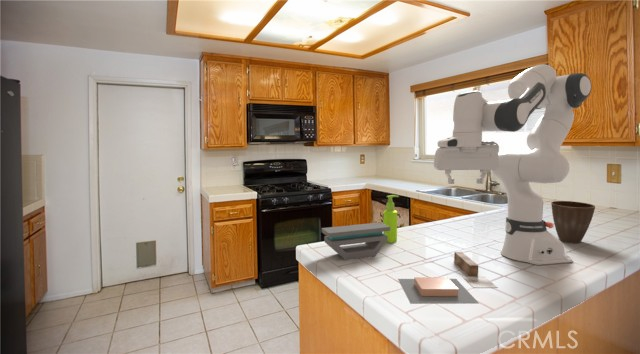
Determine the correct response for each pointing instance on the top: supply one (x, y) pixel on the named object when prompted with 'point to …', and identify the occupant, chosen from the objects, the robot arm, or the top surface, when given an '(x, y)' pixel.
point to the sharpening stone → (356, 239)
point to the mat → (416, 297)
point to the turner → (471, 271)
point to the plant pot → (572, 219)
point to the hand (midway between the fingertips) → (465, 183)
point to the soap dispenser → (390, 220)
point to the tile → (435, 286)
